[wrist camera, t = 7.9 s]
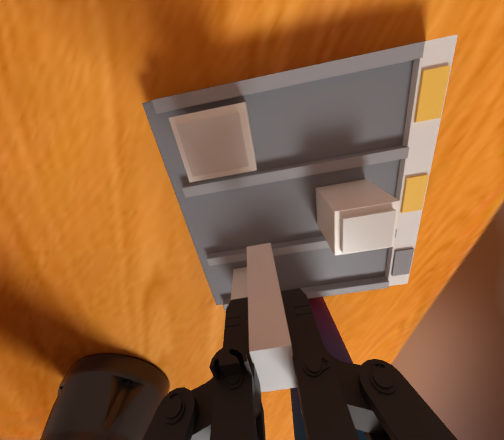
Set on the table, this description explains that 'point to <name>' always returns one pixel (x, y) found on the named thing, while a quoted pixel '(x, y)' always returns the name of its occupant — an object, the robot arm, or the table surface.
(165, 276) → the table surface
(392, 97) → the switch bank
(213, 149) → the tab
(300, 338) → the robot arm
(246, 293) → the tab
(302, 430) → the cup
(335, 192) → the tab middle
